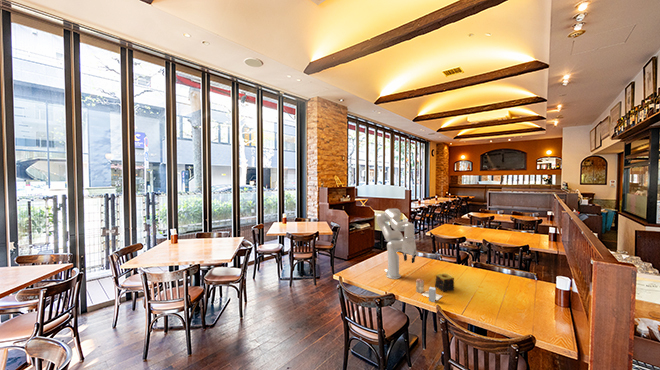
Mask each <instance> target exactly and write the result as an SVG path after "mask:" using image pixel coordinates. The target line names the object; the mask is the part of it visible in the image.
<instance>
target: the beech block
mask: <svg viewBox="0 0 660 370" xmlns="http://www.w3.org/2000/svg"><path fill="white" fill-rule="evenodd" d="M424 286H425V283H424V280H423V279H420V278H417V279H416V280H415V292H416V293H419V294H423V293H424V292H425V291H424Z"/></svg>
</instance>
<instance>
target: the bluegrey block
mask: <svg viewBox="0 0 660 370" xmlns="http://www.w3.org/2000/svg"><path fill="white" fill-rule="evenodd" d="M436 288H437V287H435V286H434V287H432V286H429V288H428V291H429V298H428V302H430V301H431V303H436V301H437V300H436V294H437V290H436ZM435 300H436V301H435Z"/></svg>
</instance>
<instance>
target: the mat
mask: <svg viewBox="0 0 660 370" xmlns="http://www.w3.org/2000/svg"><path fill="white" fill-rule="evenodd" d="M420 294H421V296H422V295H423V297H425V296H426V298H428V297H429V290H426V291H424V292H422V293H420ZM441 298H443V295H441V294H438V293H436V301H439V300H440V299H441Z"/></svg>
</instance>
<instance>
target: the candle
mask: <svg viewBox="0 0 660 370" xmlns="http://www.w3.org/2000/svg"><path fill="white" fill-rule="evenodd" d="M434 288H437V289H438V290H440V291H442V292H444V293H445V292H451V291H455V277H453V276H452V275H449V274H447V273H440V274H439V273H438V274H435V286H434Z"/></svg>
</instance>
